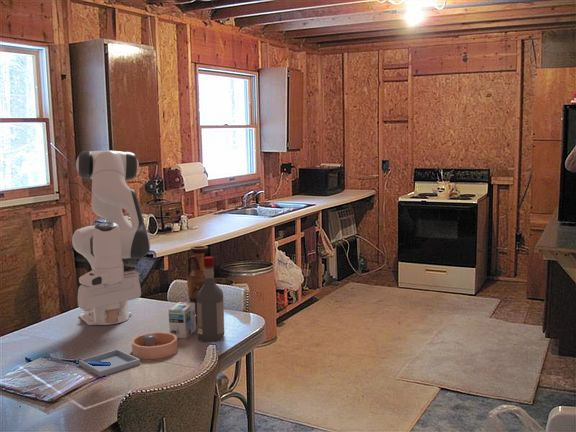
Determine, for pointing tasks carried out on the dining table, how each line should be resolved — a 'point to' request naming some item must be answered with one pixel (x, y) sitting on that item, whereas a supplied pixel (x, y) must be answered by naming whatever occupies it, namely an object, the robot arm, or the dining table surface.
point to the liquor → (210, 307)
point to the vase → (196, 274)
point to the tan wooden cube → (111, 315)
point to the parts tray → (115, 357)
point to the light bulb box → (182, 319)
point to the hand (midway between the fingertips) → (111, 317)
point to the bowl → (163, 348)
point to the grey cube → (150, 340)
